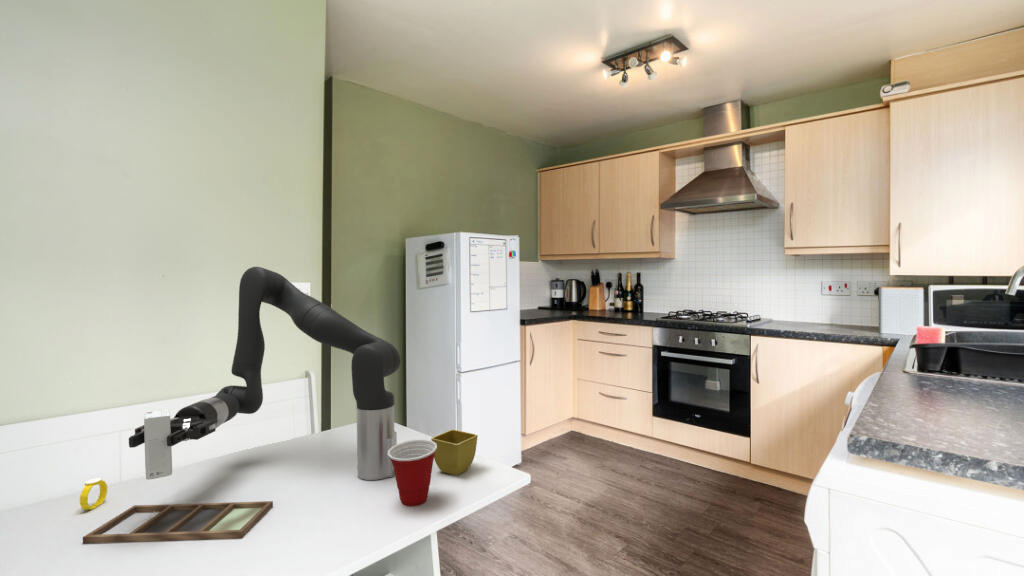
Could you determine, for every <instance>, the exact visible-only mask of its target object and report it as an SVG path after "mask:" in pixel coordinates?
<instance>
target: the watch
mask: <svg viewBox="0 0 1024 576" xmlns="http://www.w3.org/2000/svg"><path fill="white" fill-rule="evenodd" d="M97 485H98V486H99V495H98V498H97V499H96V501H95V503H93V504H91V505H90V504H89V502H88V500H89V494H90V491H91V489H92V488H93V487H94V486H97ZM107 494H108V484H107V482H106V481H105V480H103V479H102V477H96V478H91V479H88V480H86V481H85V482H84V488H83V489H82V491H81V493H80V497H79V505H80V507H81V508H82V509H83V510H84V511H92V510H95V508H97V507H99V506H101V505H102V504H104V502H105V500H106V497H107Z"/></svg>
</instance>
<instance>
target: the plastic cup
mask: <svg viewBox="0 0 1024 576" xmlns="http://www.w3.org/2000/svg"><path fill="white" fill-rule="evenodd" d="M436 449H437V444H436V443H435V442H433V441H432V440H429V439H426V438H425V439H423V438H422V439H412V440H406V441H402V442H399V443H397V445H395V446H393V447H391V448H390V449H389V450H388V457H390V459H391V462H392V464H393V467H394V477H395V482H396V486H397V489H398V495H399V500H400V503H401V505H403V506H406V507H417V506H420V505H423V504H424V503H426V502H427V500H428V497H429V490H430V485H431V478H432V471H433V465H434V462H435V459H434V455H435V451H436Z"/></svg>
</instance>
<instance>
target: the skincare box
mask: <svg viewBox="0 0 1024 576" xmlns="http://www.w3.org/2000/svg"><path fill="white" fill-rule="evenodd" d="M170 419H171V414H170V411H169V409H163V410H156V411H149V412H145V413H143V422H144V423H143V425H144V438H145V443H144V465H145V466H144V468H145V469H144V470H145V479H146V480H148V481H149V480H154V479H160V478H164V477H168V476H169V477H170V476H172V475H173V457H172V455H173V454H172V453H173V452H172V451H173V450H172V446H167V436H168V435H170V434H171V429H170Z"/></svg>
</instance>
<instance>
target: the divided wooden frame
mask: <svg viewBox="0 0 1024 576" xmlns="http://www.w3.org/2000/svg"><path fill="white" fill-rule="evenodd" d="M273 507H274V501H270V500H269V501H265V500H263V501H237V502H234V501H233V502H209V503H207V502H204V503H203V502H202V503H199V502H198V503H174V504H171V503H170V504H144V505H143V504H141V505H139V504H138V505H135V504H134V505H132V506H131V507H129V508H128V509H126V510H125V511H123V512H122V513H120V514H118V515H116V516H115V517H113V518H112V519H110V520H109V521H107V522H105V523H103V524H101V526H99V527H96V529H94V530H92V531H90V532H89V533H87V534H86V535H84V536H82V545H83V544H85V545H86V544H108V543H109V544H110V543H139V542H140V543H141V542H165V541H166V542H169V541H170V542H171V541H195V540H196V541H197V540H198V541H199V540H201V541H203V540H225V539H227V540H229V539H243V538H244V537H245V535H246V534H248V532H250V530H251V529H253V528H254V527H255V526H256V524H258V522H259V521H260V520H261V519H262V518H263V517H264V516H265V515H266V514H268V513H269V511H270V510H271V509H272V508H273ZM136 513H138V514H139V513H157V514H155V515H154V516H152V517H151V518H149V519H148V520H147V521H145V522H144V523H142V524H140V525H139V526H138V527H136V528H135V529H133V530H132V531H130V532H129V533H107V534H106V532H107V531H109V530H110V529H112V528H114V527H115V526H117V525H118V524H120V523H122V522H123V521H125V520H126V519H128V518H130V517H131V516H132V515H134V514H136Z"/></svg>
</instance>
